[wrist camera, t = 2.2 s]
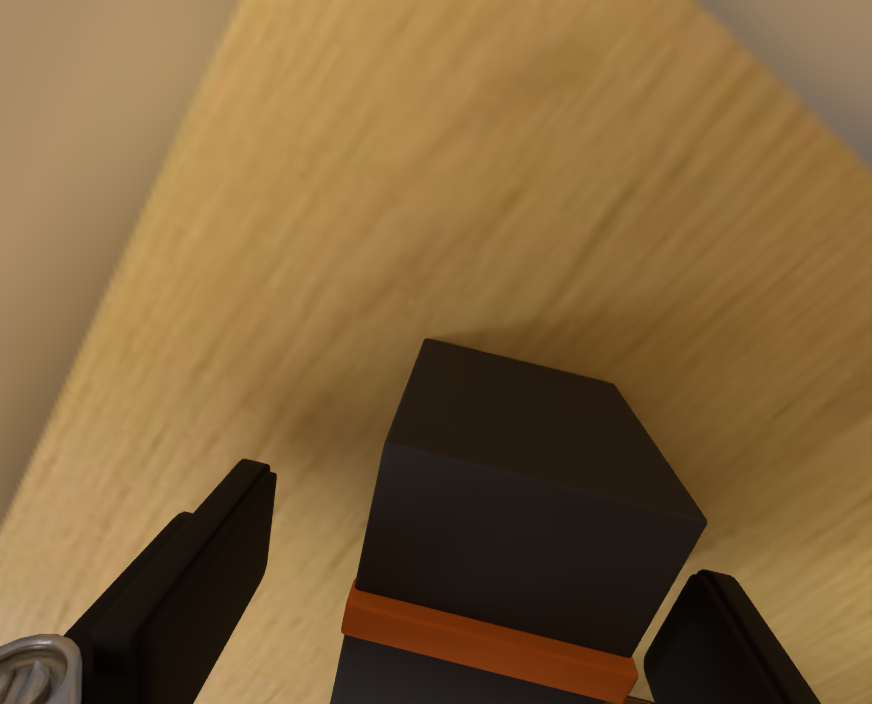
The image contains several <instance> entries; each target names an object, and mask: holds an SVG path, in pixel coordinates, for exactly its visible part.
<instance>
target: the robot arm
mask: <svg viewBox="0 0 872 704" xmlns="http://www.w3.org/2000/svg"><path fill="white" fill-rule="evenodd" d="M276 480H277V475H276V473H273V472H270V465H268V464H265V463H261V462H257V461H253V460H248V459H242V460H241V461H239V462H238V464H237V465H236V466H235V467H234V468H233V469H232V470H231V471H230V473H229V474H228V475H227V476H226V477H225V478H224V479H223V480H222V482H221V483H220V484H219V485H218V486H217V487H216V488H215V489H214V491H213V492H212V493H211V494H210V495H209V496H208V497H207V498H206V500H205V501H204V502H203V503H202V504H201V505H200V506H199V507H198V509H197V510H196V511H195V512H194V513H189V512H182V513H180V514H178V515H177V516H176V517H175V518H173V519H172V520H171V521H170V522H169V524H168V525H167V526H166V527H165V528H164V529H163V530H162V531H161V532H160V533H159V534H158V535H157V536H156V537H155V538H154V540H153V541H152V542H151V543H150V544H149V545H148V546H147V547H146V548H145V549H144V550H143V551H142V552H141V553H140V555H139V556H138V557H137V558H136V559H135V560H134V561H133V562H132V563H131V564H130V565H129V566H128V567H127V568H126V569H125V571H124V572H123V573H122V574H121V575H120V576H119V577H118V578H117V579H116V580H115V581H114V582H113V583H112V584H111V585H110V587H109V588H108V589H107V590H106V591H105V592H104V593H103V594H102V595H101V596H100V597H99V598H98V599H97V600H96V602H95V603H94V604H93V605H92V606H91V607H90V608H89V609H88V610H87V611H86V612H85V613H84V614H83V615H82V616H81V618H80V619H79V620H78V621H77V622H76V623H75V624H74V625H73V626H72V627H71V628H70V629H69V630H68V631H67V632H66V634H65V635H64V636H61V635H58V634H38V635H34V636H29V637H24V638H20V639H17V640H15V641H13V642H10V643H8V644H5V645H3V646H0V704H193V703H194V701H195V699H196V698H197V696H198V694H199V692H200V690H201V689H202V687H203V685H204V683H205V681H206V680H207V678H208V676H209V674H210V672H211V670H212V669H213V667H214V665H215V663H216V661H217V660H218V658H219V656H220V654H221V652H222V651H223V649H224V647H225V645H226V643H227V642H228V640H229V638H230V636H231V634H232V633H233V631H234V629H235V627H236V625H237V624H238V622H239V620H240V618H241V616H242V615H243V613H244V611H245V609H246V607H247V606H248V604H249V602H250V600H251V598H252V597H253V595H254V593H255V591H256V589H257V588H258V586H259V584H260V582H261V580H262V578H263V576H264V573H265V570H266V566H267V560H268V551H269V542H270V533H271V524H272V515H273V507H274V498H275V489H276ZM644 672H645V676H646V679H647V681H648V684H649V687H650V690H651V693H652V695H653V698H654V701H655V704H821V703H820V701H819V700H818V698H817V697H816V695H815V694H814V692H813V691H812V690H811V688H810V687H809V685H808V684H807V682H806V681H805V679H804V678H803V676H802V675H801V673H800V672H799V671H798V669H797V668H796V666H795V665H794V663H793V662H792V660H791V659H790V657H789V656H788V654H787V653H786V652H785V650H784V649H783V647H782V646H781V644H780V643H779V641H778V640H777V638H776V637H775V635H774V634H773V632H772V631H771V630H770V628H769V627H768V625H767V624H766V622H765V621H764V619H763V618H762V616H761V615H760V613H759V612H758V611H757V609H756V608H755V606H754V605H753V603H752V602H751V600H750V599H749V597H748V596H747V594H746V593H745V592H744V590H743V589H742V587H741V586H740V584H739V583H738V581H737V580H736V579H735V578H734V577H732V576H730V575H726V574H722V573H718V572H714V571H710V570H704V569H702V570H700V571H698V573H697V574H693V575H691V576H690V577H689V579H688V581H687V582H686V584H685V586H684V588H683V589H682V591H681V593H680V595H679V596H678V598H677V600H676V602H675V603H674V605H673V607H672V609H671V610H670V612H669V614H668V616H667V617H666V619H665V621H664V623H663V624H662V626H661V628H660V630H659V632H658V633H657V635H656V637H655V639H654V640H653V642H652V644H651V646H650V647H649V649H648V651H647V653H646V655H645V657H644Z"/></svg>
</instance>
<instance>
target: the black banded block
mask: <svg viewBox="0 0 872 704" xmlns="http://www.w3.org/2000/svg"><path fill="white" fill-rule="evenodd" d="M706 525H707V519H706V518H705V516H704V515H703V513H702V512H701V510H700V509H699V507H698V506H697V505H696V503H695V502H694V500H693V499H692V497H691V496H690V494H689V493H688V491H687V490H686V489H685V487H684V486H683V484H682V483H681V481H680V480H679V478H678V477H677V475H676V474H675V472H674V471H673V470H672V468H671V467H670V465H669V464H668V462H667V461H666V459H665V458H664V456H663V455H662V453H661V452H660V451H659V449H658V448H657V446H656V445H655V443H654V442H653V440H652V439H651V437H650V436H649V434H648V433H647V432H646V430H645V429H644V427H643V426H642V424H641V423H640V421H639V420H638V418H637V417H636V416H635V414H634V413H633V411H632V410H631V408H630V407H629V405H628V404H627V402H626V401H625V399H624V398H623V397H622V395H621V394H620V392H619V391H618V389H617V388H616V386H615V385H614V384H612V383H608V382H604V381H600V380H595V379H591V378H587V377H583V376H579V375H575V374H571V373H567V372H563V371H558V370H554V369H550V368H546V367H542V366H538V365H534V364H530V363H526V362H521V361H517V360H513V359H509V358H505V357H501V356H497V355H493V354H489V353H484V352H480V351H476V350H472V349H468V348H464V347H460V346H456V345H452V344H447V343H443V342H439V341H435V340H431V339H425V340H424V341H423V344H422V346H421V349H420V352H419V354H418V357H417V359H416V362H415V365H414V367H413V370H412V373H411V375H410V378H409V380H408V383H407V386H406V388H405V391H404V393H403V396H402V399H401V401H400V404H399V406H398V409H397V412H396V414H395V417H394V419H393V422H392V425H391V427H390V430H389V432H388V435H387V438H386V440H385V443H384V447H383V452H382V457H381V462H380V467H379V471H378V476H377V481H376V486H375V491H374V495H373V500H372V505H371V510H370V515H369V519H368V524H367V529H366V534H365V539H364V543H363V548H362V553H361V558H360V563H359V567H358V572H357V577H356V579H355V580H354V581H353V584H352V587H351V590H350V593H349V597H348V600H347V603H346V608H345V612H344V617H343V622H342V627H341V631H342V633H343V634H344V639H343V644H342V649H341V654H340V658H339V663H338V668H337V673H336V678H335V682H334V687H333V692H332V697H331V702H330V704H604V703H605V702H606V701H609V702H613V703H617V704H622V703H624V701H625V699H626V698H627V696H628V694H629V693H630V691H631V689H632V688H633V686H634V684H635V683H636V681H637V679H638V673H637V670H636V667H635V664H634V661H633V658H632V654H633V653H634V651H635V649H636V647H637V646H638V644H639V642H640V641H641V639H642V637H643V635H644V634H645V632H646V630H647V628H648V627H649V625H650V623H651V621H652V620H653V618H654V616H655V614H656V613H657V611H658V609H659V607H660V606H661V604H662V602H663V600H664V599H665V597H666V595H667V593H668V592H669V590H670V588H671V586H672V585H673V583H674V581H675V579H676V578H677V576H678V574H679V573H680V571H681V569H682V567H683V566H684V564H685V562H686V560H687V559H688V557H689V555H690V553H691V552H692V550H693V548H694V546H695V545H696V543H697V541H698V539H699V538H700V536H701V534H702V532H703V531H704V529H705V527H706Z"/></svg>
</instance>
